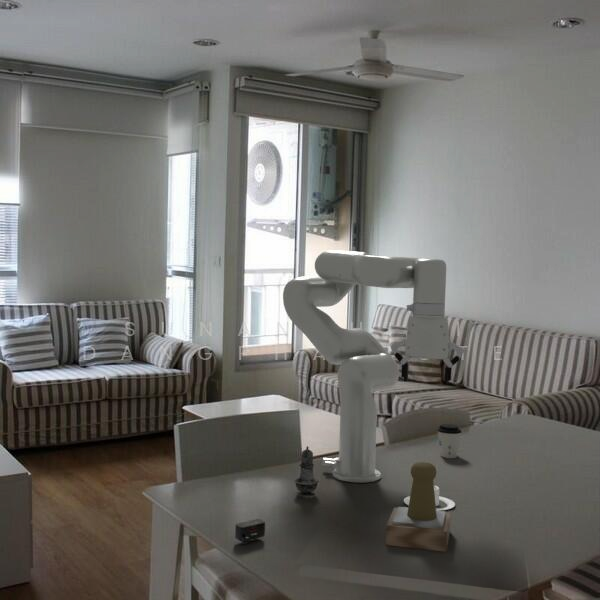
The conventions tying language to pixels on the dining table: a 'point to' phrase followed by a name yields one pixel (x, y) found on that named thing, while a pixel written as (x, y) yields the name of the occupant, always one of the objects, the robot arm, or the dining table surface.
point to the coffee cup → (448, 440)
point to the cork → (422, 492)
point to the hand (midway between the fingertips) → (425, 381)
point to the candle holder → (436, 500)
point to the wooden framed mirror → (418, 531)
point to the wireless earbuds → (249, 530)
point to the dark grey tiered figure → (306, 476)
